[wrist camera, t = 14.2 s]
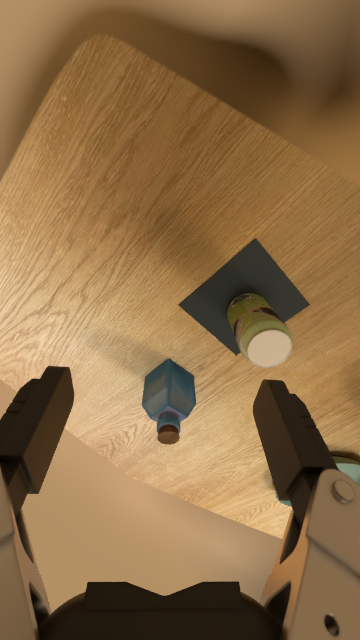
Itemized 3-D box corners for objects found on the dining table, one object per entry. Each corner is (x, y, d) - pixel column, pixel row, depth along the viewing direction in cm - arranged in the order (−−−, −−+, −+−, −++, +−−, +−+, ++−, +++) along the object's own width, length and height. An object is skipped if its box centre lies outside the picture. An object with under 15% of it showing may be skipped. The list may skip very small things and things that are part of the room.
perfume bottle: (170, 392, 49) (169, 454, 39) (145, 377, 47) (137, 438, 37) (193, 375, 47) (199, 437, 37) (168, 358, 45) (167, 418, 35)
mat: (178, 304, 39) (178, 305, 39) (255, 238, 34) (255, 238, 34) (236, 354, 45) (236, 355, 44) (309, 304, 39) (309, 304, 39)
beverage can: (232, 329, 41) (250, 387, 31) (218, 291, 38) (234, 343, 28) (271, 316, 40) (303, 372, 30) (261, 276, 36) (294, 324, 26)
